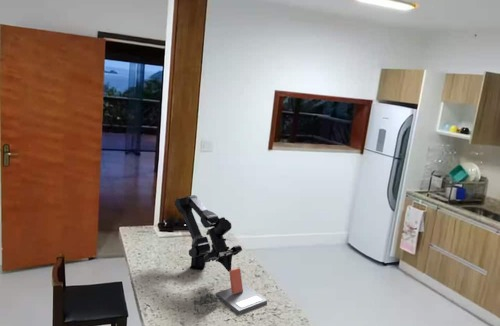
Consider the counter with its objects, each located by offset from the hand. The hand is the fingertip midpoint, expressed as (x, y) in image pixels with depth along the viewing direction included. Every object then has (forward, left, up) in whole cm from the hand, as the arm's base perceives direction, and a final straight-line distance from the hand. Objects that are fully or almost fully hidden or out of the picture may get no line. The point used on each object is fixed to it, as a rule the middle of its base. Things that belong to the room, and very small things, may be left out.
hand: (229, 271), depth 179 cm
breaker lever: (+5, -5, -7) cm, 10 cm away
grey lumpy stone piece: (-8, -15, -9) cm, 20 cm away
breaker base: (+7, -7, -9) cm, 13 cm away
